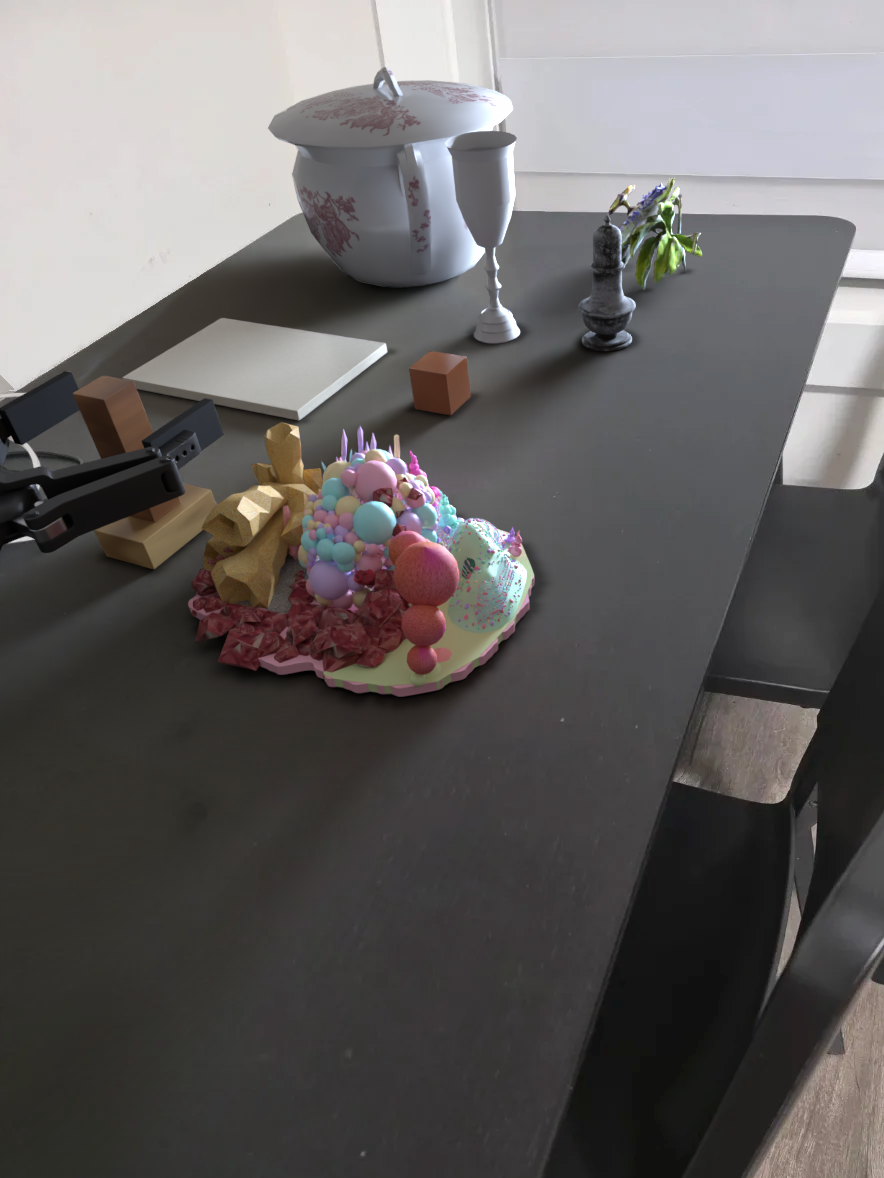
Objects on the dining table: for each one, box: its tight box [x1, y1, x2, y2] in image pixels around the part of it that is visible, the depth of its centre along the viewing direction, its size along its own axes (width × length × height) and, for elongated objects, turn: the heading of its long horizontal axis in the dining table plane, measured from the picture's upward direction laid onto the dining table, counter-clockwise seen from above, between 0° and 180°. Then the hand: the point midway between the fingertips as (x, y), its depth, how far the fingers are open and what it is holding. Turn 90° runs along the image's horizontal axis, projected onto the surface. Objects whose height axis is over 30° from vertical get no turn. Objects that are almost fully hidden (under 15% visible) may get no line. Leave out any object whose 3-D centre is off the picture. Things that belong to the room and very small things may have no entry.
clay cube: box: [408, 350, 472, 416], centre depth 85 cm, size 4×4×4 cm
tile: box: [121, 317, 388, 421], centre depth 93 cm, size 22×16×1 cm
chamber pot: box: [267, 66, 514, 289], centre depth 105 cm, size 28×28×21 cm
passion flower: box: [607, 177, 703, 291], centre depth 105 cm, size 11×11×12 cm
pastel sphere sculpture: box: [187, 421, 535, 698], centre depth 63 cm, size 25×24×9 cm
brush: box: [72, 375, 217, 570], centre depth 68 cm, size 5×8×12 cm, turn 155°
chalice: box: [445, 130, 521, 344], centre depth 91 cm, size 7×7×18 cm
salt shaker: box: [577, 214, 637, 352], centre depth 90 cm, size 6×6×12 cm
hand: (143, 401), depth 67 cm, fingers open, 13 cm apart
